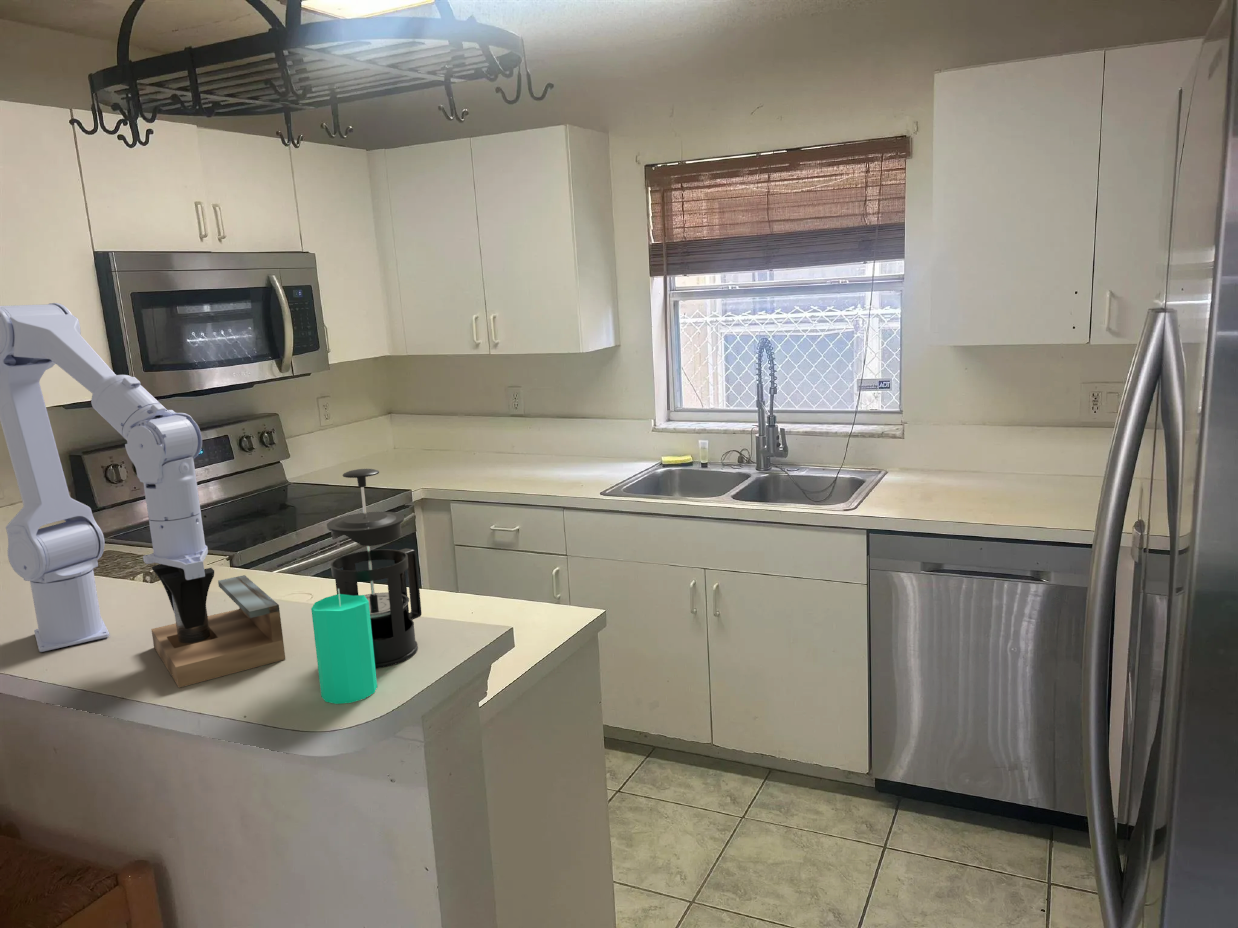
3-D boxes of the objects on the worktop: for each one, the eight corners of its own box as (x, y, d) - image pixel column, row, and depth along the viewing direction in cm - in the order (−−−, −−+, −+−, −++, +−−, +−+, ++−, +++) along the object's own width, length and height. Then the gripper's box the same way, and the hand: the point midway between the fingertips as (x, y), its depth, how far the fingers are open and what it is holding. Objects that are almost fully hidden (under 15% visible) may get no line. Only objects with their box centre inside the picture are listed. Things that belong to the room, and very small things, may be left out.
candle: (361, 705, 96) (350, 598, 94) (310, 702, 97) (298, 597, 95) (386, 681, 102) (376, 580, 100) (338, 678, 103) (327, 579, 101)
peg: (204, 629, 114) (196, 577, 113) (214, 636, 111) (207, 583, 110) (174, 638, 112) (166, 584, 110) (184, 645, 109) (176, 590, 108)
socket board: (154, 647, 115) (146, 595, 114) (250, 624, 122) (244, 574, 121) (178, 687, 103) (170, 629, 101) (285, 659, 110) (278, 604, 108)
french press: (366, 677, 103) (346, 482, 99) (318, 660, 109) (297, 475, 105) (444, 643, 112) (428, 464, 108) (396, 629, 118) (379, 458, 114)
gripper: (127, 511, 112) (143, 614, 114) (150, 532, 100) (167, 646, 103) (188, 501, 116) (202, 601, 118) (216, 520, 105) (231, 630, 107)
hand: (190, 621), depth 111 cm, fingers closed on peg, 4 cm apart
